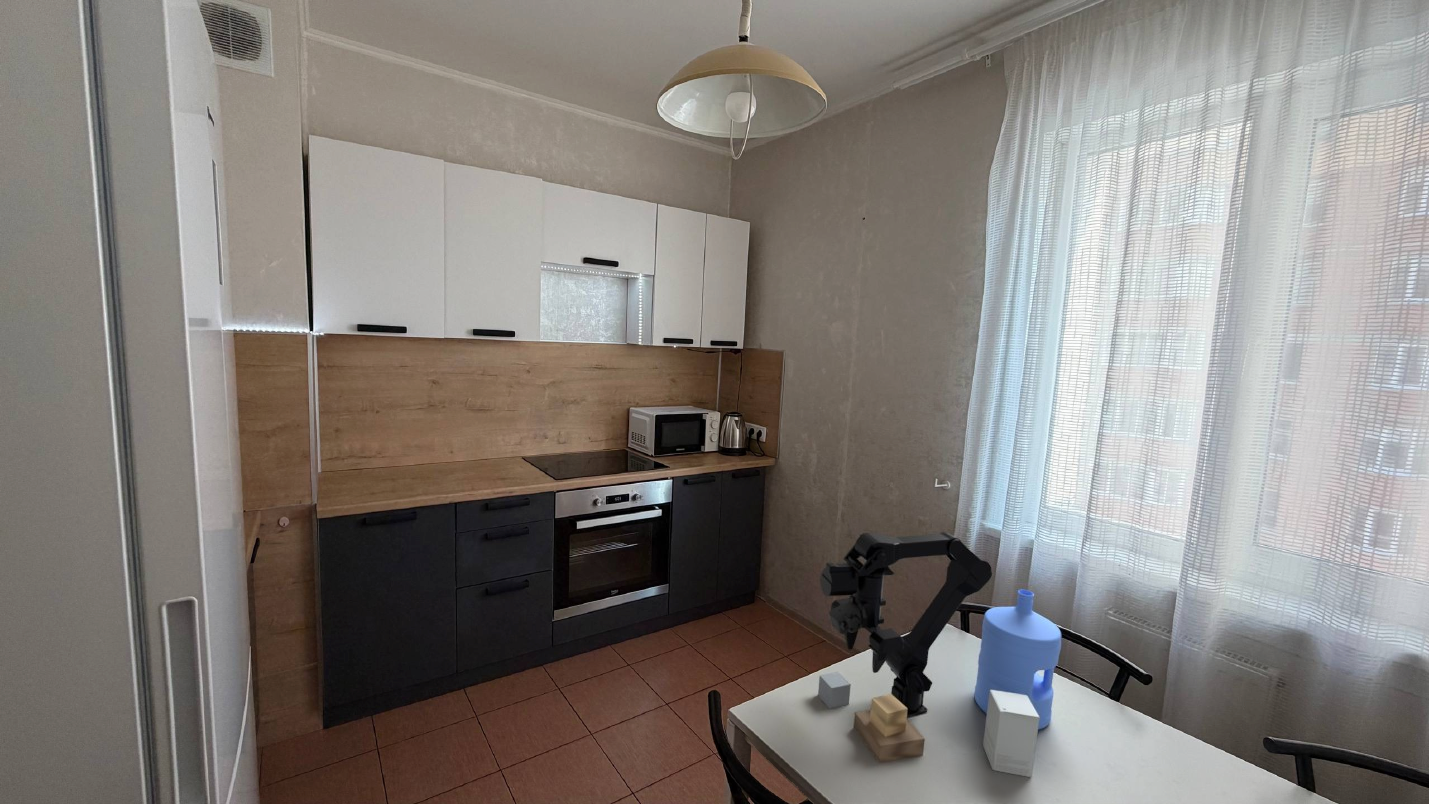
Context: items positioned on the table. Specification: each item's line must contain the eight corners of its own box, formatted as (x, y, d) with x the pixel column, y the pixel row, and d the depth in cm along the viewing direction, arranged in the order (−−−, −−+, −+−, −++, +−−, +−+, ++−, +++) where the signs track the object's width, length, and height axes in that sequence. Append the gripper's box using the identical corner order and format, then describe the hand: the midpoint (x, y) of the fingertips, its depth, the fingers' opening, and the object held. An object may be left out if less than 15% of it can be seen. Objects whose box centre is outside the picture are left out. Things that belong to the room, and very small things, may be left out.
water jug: (975, 719, 127) (989, 599, 123) (972, 680, 141) (985, 572, 138) (1055, 741, 121) (1073, 616, 118) (1044, 699, 136) (1059, 586, 132)
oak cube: (889, 715, 121) (891, 693, 120) (905, 731, 116) (907, 708, 116) (869, 720, 119) (871, 698, 118) (885, 736, 114) (887, 713, 114)
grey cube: (836, 691, 134) (838, 671, 134) (848, 704, 130) (850, 684, 129) (817, 695, 132) (819, 675, 132) (829, 709, 128) (831, 688, 127)
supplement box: (1032, 778, 110) (1041, 718, 109) (991, 770, 112) (999, 710, 110) (1020, 751, 118) (1028, 694, 116) (981, 744, 119) (988, 688, 117)
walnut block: (894, 723, 125) (896, 706, 124) (922, 756, 115) (924, 738, 115) (853, 729, 122) (855, 712, 121) (878, 764, 112) (880, 745, 112)
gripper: (813, 578, 130) (808, 643, 132) (863, 618, 112) (856, 692, 114) (854, 573, 134) (849, 636, 136) (909, 611, 117) (901, 682, 119)
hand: (862, 660), depth 126 cm, fingers open, 9 cm apart
